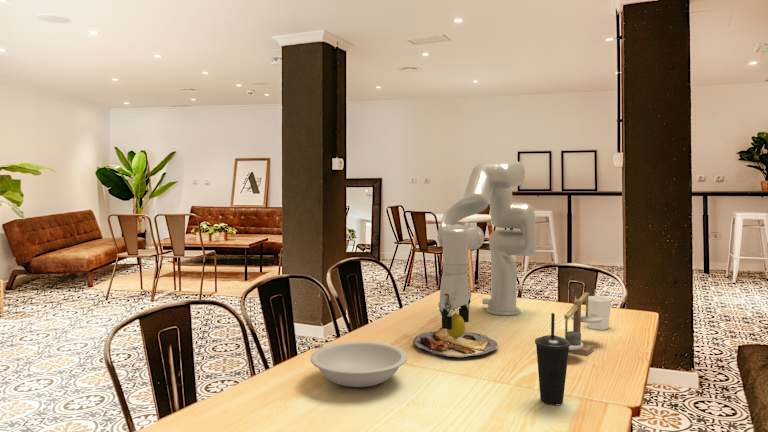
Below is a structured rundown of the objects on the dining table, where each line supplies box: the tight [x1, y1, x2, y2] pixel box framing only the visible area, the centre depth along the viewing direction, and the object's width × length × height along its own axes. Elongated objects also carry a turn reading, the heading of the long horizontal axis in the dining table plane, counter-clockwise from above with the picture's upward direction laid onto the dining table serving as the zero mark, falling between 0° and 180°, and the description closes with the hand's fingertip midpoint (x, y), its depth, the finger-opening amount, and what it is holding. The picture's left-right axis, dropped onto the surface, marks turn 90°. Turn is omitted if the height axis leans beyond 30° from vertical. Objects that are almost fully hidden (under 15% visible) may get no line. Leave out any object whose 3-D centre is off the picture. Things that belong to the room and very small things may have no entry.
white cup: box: [586, 295, 612, 331], centre depth 180 cm, size 8×8×10 cm
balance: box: [563, 291, 603, 356], centre depth 155 cm, size 9×27×16 cm, turn 141°
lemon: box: [446, 313, 466, 339], centre depth 159 cm, size 6×6×8 cm
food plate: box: [412, 327, 499, 358], centre depth 159 cm, size 25×23×4 cm
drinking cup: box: [534, 312, 571, 406], centre depth 119 cm, size 8×8×20 cm
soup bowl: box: [310, 340, 408, 388], centre depth 131 cm, size 24×24×7 cm
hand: (455, 325), depth 159 cm, fingers open, 9 cm apart
